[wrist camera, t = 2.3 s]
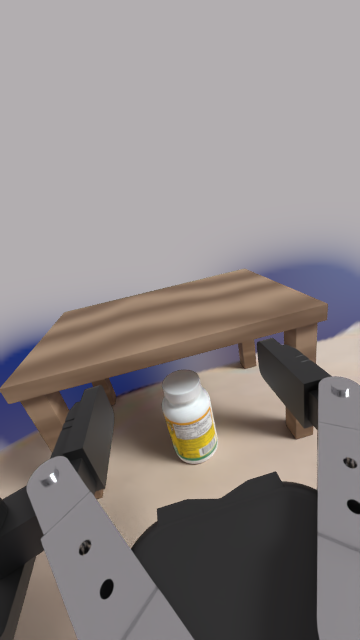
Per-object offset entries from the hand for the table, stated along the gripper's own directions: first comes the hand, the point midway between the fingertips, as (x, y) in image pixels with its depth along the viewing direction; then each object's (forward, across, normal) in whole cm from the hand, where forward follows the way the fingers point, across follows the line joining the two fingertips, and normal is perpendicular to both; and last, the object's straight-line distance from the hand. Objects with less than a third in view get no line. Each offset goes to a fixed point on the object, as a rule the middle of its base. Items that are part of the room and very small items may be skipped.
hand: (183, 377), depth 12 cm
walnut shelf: (+15, 0, +18) cm, 23 cm away
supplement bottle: (+10, 0, +18) cm, 21 cm away
